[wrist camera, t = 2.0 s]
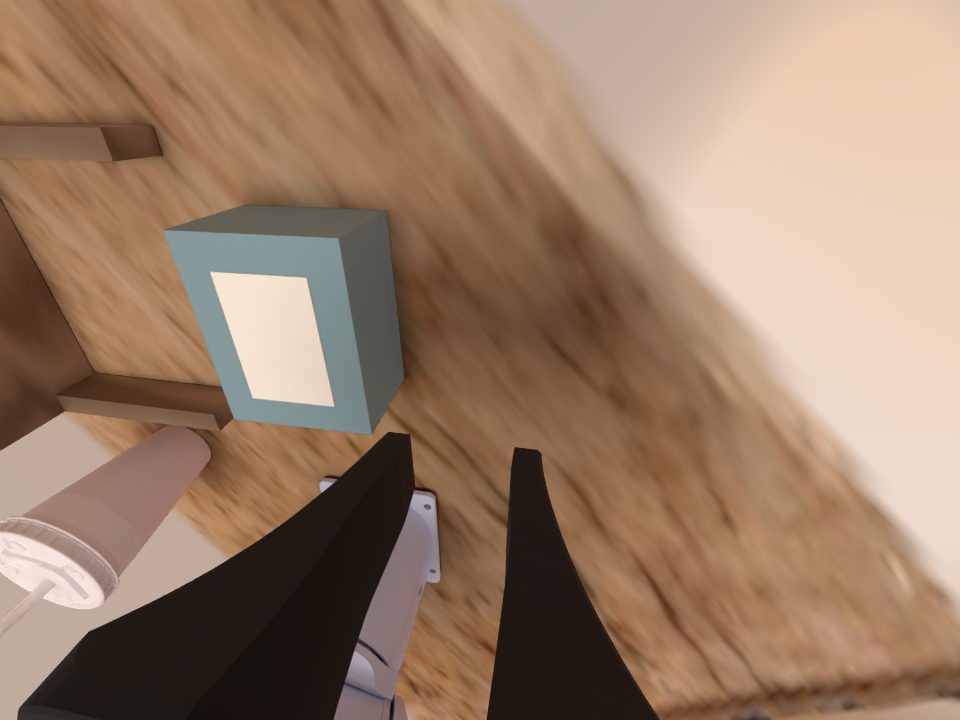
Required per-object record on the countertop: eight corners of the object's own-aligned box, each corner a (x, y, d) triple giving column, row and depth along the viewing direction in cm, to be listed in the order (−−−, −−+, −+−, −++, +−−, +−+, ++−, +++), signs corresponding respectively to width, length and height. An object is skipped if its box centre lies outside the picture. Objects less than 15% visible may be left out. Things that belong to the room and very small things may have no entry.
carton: (405, 376, 24) (370, 436, 19) (290, 365, 25) (232, 420, 20) (387, 209, 19) (337, 239, 15) (246, 204, 20) (160, 230, 16)
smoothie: (211, 491, 32) (4, 718, 20) (131, 442, 31) (-142, 655, 19) (242, 448, 29) (19, 686, 17) (155, 391, 27) (-155, 608, 16)
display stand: (247, 405, 27) (172, 475, 22) (86, 386, 28) (-18, 447, 23) (152, 125, 19) (-1, 131, 14) (-63, 121, 20) (-272, 125, 15)
